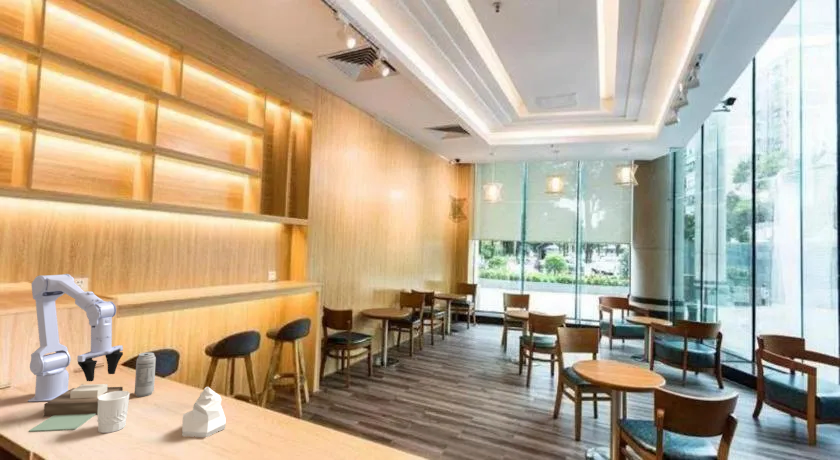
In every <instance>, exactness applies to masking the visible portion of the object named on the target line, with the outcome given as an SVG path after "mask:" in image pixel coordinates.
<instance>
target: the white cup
mask: <svg viewBox="0 0 840 460" xmlns="http://www.w3.org/2000/svg"><path fill="white" fill-rule="evenodd" d="M129 400H130V391H127V390H122V391H114V392H109V393H105V394H103V395H101V396H99V397H98V414H97V425H98V426H97V427H98V428H97V429H98V430H97V431H98V433H101V434H108V433H109V434H110V433H113V432H118V431H120V430H123V429H124V428H125V427H126V424H127V423H126V422H127V418H128V417H127V416H128V411H129Z"/></svg>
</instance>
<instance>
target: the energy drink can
mask: <svg viewBox="0 0 840 460" xmlns="http://www.w3.org/2000/svg"><path fill="white" fill-rule="evenodd" d="M156 361H157V358H156V355H155V352H151V351H148V352H141V353H139V354H138V357H137V358H136V365H135V380H134V381H135V382H134V394H135V396H136V397H138V398H139V397H140V398H142V397H147V396H148V397H149V396H151V395H152V394H153V393H154V391H155V378H156V377H155V376H156Z"/></svg>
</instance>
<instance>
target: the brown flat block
mask: <svg viewBox="0 0 840 460" xmlns="http://www.w3.org/2000/svg"><path fill="white" fill-rule="evenodd" d="M123 387H124V386H111V387H109V386H108V387H107V392H105V393H109V392H114V391H124V389H123ZM75 388H76V387H73V388H70V389H68V390H69V391H67V392H65V393H63V394H61V395H60V396H58V397H56V398H54V399H53V400H51V401H46V402H45V403H44V405H43V417H52V416H53V415H69V414H93V413H96V415H98V398H74V399H70V394H71V391H72V390H74V389H75ZM105 393H104V394H105ZM102 395H103V394H102Z"/></svg>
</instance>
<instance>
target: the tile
mask: <svg viewBox="0 0 840 460" xmlns="http://www.w3.org/2000/svg"><path fill="white" fill-rule="evenodd" d="M107 387H109V384H108V383H102V384H100V383H98V384H80V385H79V386H77V387H74V388H75V389H74V390H72V391H71V394H70V399H74V398H98V397H99V396H101V395H102V394H104V393H105V392H107Z"/></svg>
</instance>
